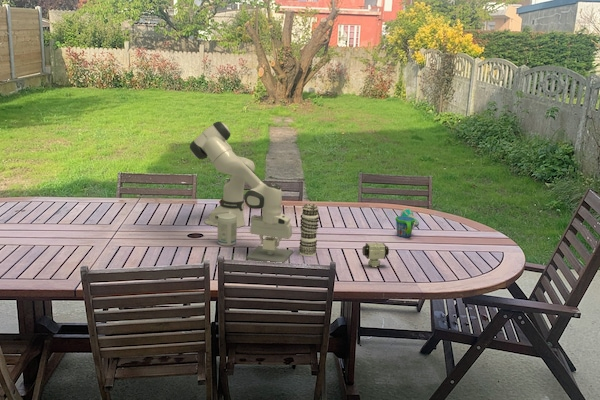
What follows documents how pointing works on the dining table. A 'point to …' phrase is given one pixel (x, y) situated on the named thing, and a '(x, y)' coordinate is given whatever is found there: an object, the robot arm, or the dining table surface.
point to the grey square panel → (269, 255)
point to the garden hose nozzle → (409, 215)
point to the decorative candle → (309, 230)
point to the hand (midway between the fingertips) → (270, 244)
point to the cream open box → (270, 243)
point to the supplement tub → (227, 229)
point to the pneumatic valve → (375, 253)
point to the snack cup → (404, 225)
